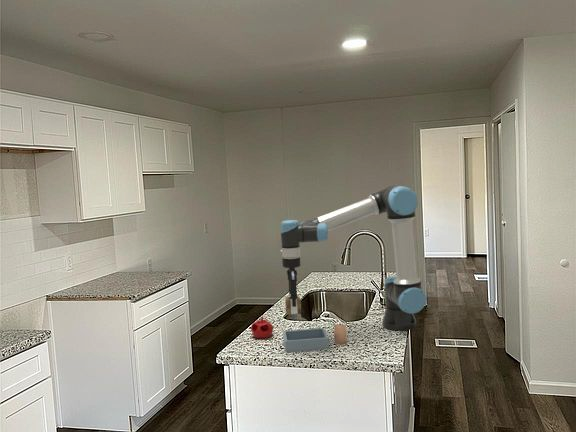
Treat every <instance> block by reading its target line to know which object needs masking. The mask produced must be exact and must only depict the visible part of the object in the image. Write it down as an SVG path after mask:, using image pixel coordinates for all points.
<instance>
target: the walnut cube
mask: <svg viewBox="0 0 576 432" xmlns="http://www.w3.org/2000/svg"><path fill="white" fill-rule="evenodd" d="M289 298H290V297H289V296H285V301H284V302H285V314H286V315H287V316H289V315H292V314H291V301H290V299H289ZM301 307H302V306H301V297H300V295H299V296H298V295H297V309H298V314H297V315H301V314H302V312H301V310H302V308H301Z"/></svg>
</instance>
